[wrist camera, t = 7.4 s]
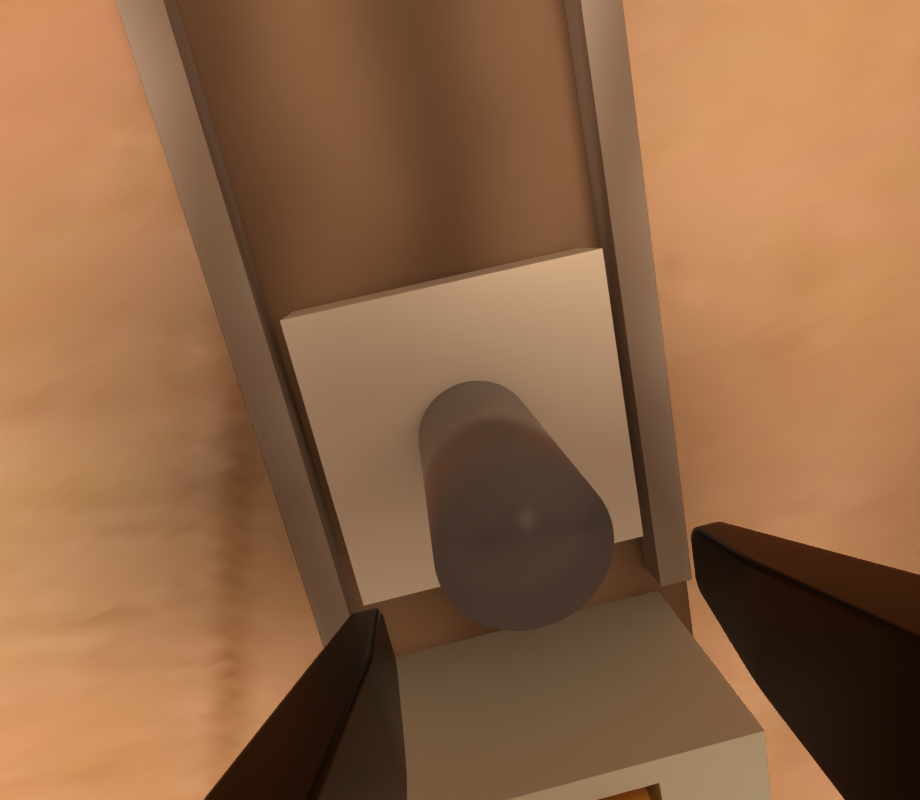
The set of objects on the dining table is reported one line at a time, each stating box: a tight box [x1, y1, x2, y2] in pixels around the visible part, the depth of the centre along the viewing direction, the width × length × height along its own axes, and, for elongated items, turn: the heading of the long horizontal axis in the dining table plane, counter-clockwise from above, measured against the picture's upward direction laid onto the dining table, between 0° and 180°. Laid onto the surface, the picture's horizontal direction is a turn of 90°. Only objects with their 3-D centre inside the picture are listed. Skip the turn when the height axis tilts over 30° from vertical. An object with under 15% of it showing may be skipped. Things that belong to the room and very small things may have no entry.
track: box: [116, 0, 693, 657], centre depth 18 cm, size 12×27×3 cm, turn 13°
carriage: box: [280, 248, 643, 631], centre depth 14 cm, size 8×8×8 cm
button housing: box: [395, 591, 771, 800], centre depth 18 cm, size 10×6×6 cm, turn 103°
